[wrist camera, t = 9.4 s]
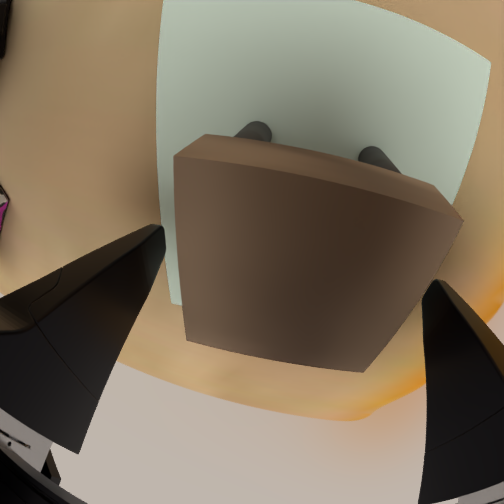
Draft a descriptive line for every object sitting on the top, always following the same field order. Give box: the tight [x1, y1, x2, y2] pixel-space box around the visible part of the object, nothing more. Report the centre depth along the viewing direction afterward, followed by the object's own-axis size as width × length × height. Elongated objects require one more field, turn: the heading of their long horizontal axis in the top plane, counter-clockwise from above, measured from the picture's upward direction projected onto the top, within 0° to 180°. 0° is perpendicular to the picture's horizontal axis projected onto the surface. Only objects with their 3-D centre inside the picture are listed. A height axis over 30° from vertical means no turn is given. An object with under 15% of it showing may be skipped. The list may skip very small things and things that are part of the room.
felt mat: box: [156, 0, 491, 306], centre depth 12 cm, size 14×18×1 cm
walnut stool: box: [173, 121, 464, 373], centre depth 9 cm, size 6×6×6 cm
